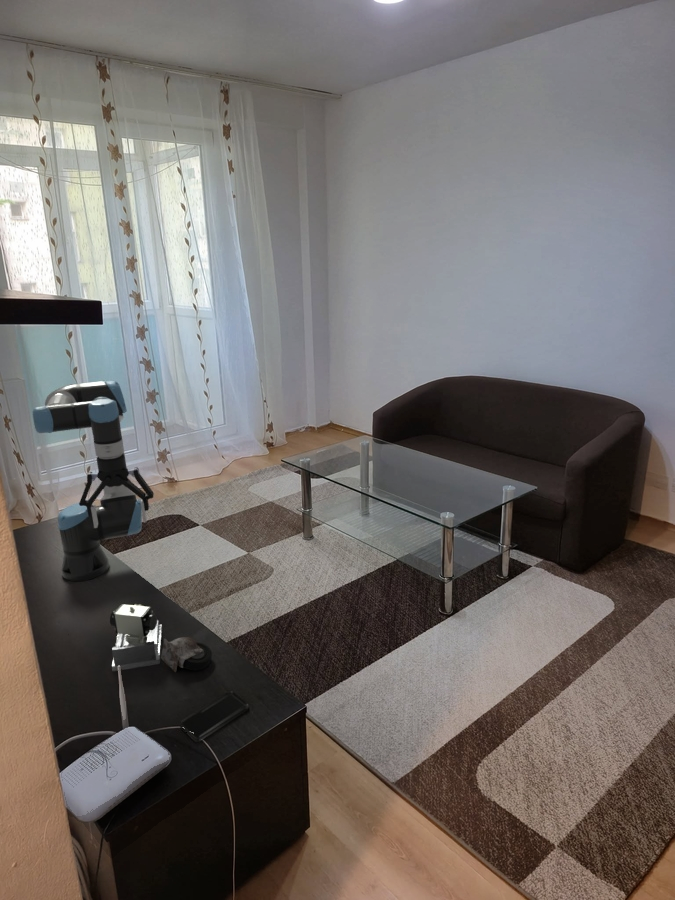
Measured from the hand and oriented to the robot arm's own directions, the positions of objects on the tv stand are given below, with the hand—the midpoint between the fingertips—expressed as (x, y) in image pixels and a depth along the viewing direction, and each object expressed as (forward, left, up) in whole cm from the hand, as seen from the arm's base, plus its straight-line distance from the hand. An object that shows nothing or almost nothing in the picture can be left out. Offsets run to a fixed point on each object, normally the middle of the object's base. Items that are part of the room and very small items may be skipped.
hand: (120, 523), depth 180 cm
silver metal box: (+21, +3, -29) cm, 36 cm away
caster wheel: (+31, +17, -29) cm, 45 cm away
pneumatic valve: (+21, +3, -27) cm, 35 cm away
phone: (+52, +23, -29) cm, 64 cm away
